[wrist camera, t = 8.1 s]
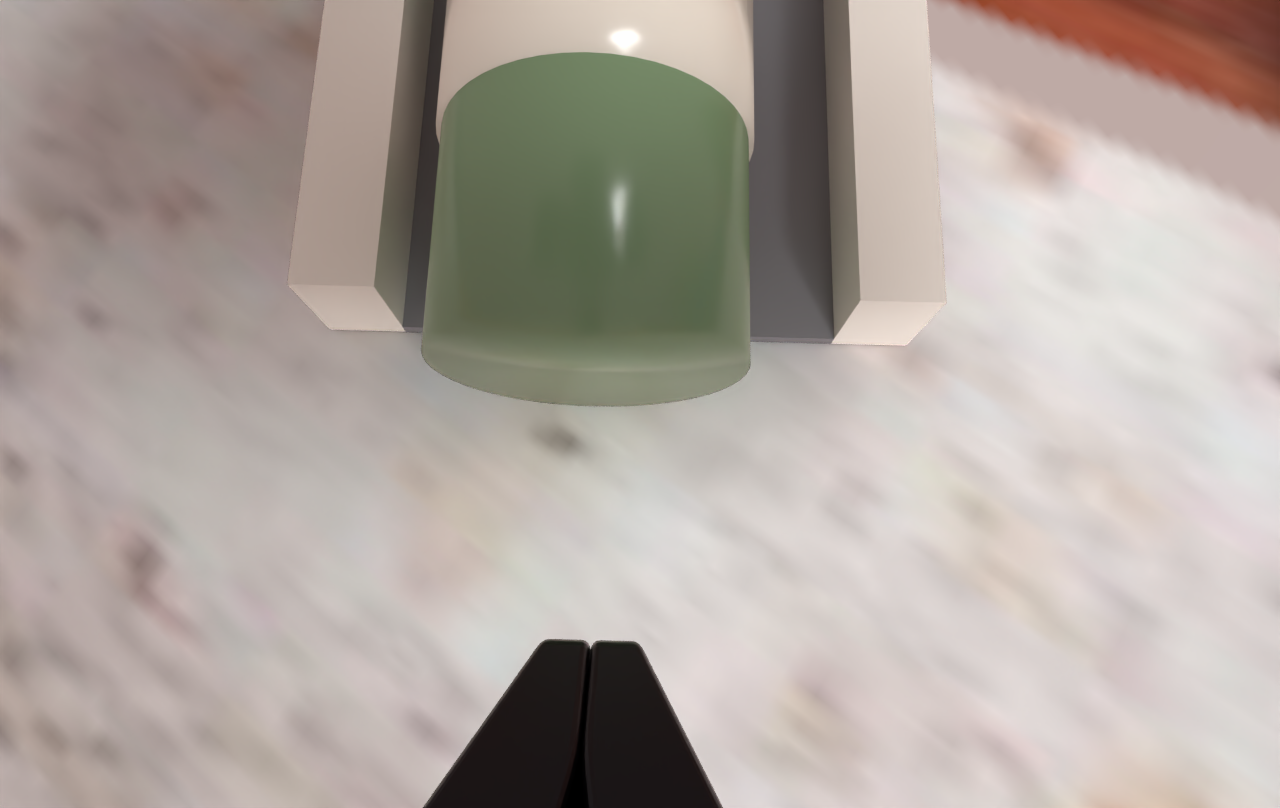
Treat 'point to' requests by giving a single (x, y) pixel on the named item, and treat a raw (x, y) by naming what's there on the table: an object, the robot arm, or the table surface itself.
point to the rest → (778, 170)
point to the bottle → (593, 200)
